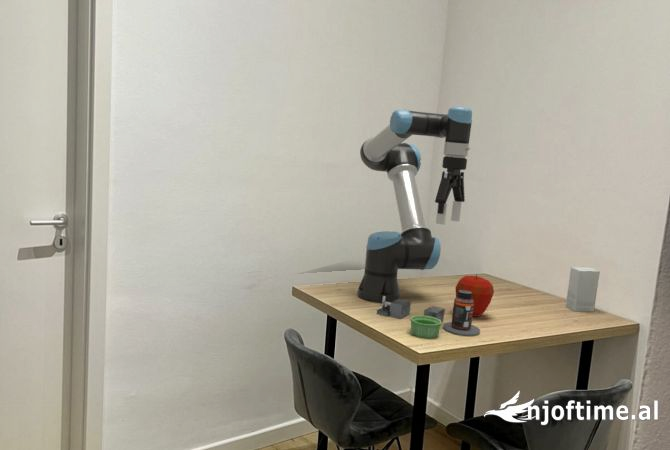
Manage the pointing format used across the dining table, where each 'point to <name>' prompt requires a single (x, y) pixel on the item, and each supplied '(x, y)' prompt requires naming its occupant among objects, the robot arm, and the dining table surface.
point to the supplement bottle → (463, 310)
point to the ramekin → (425, 326)
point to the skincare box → (582, 289)
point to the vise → (407, 309)
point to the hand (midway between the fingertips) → (447, 222)
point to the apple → (477, 292)
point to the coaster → (471, 332)
